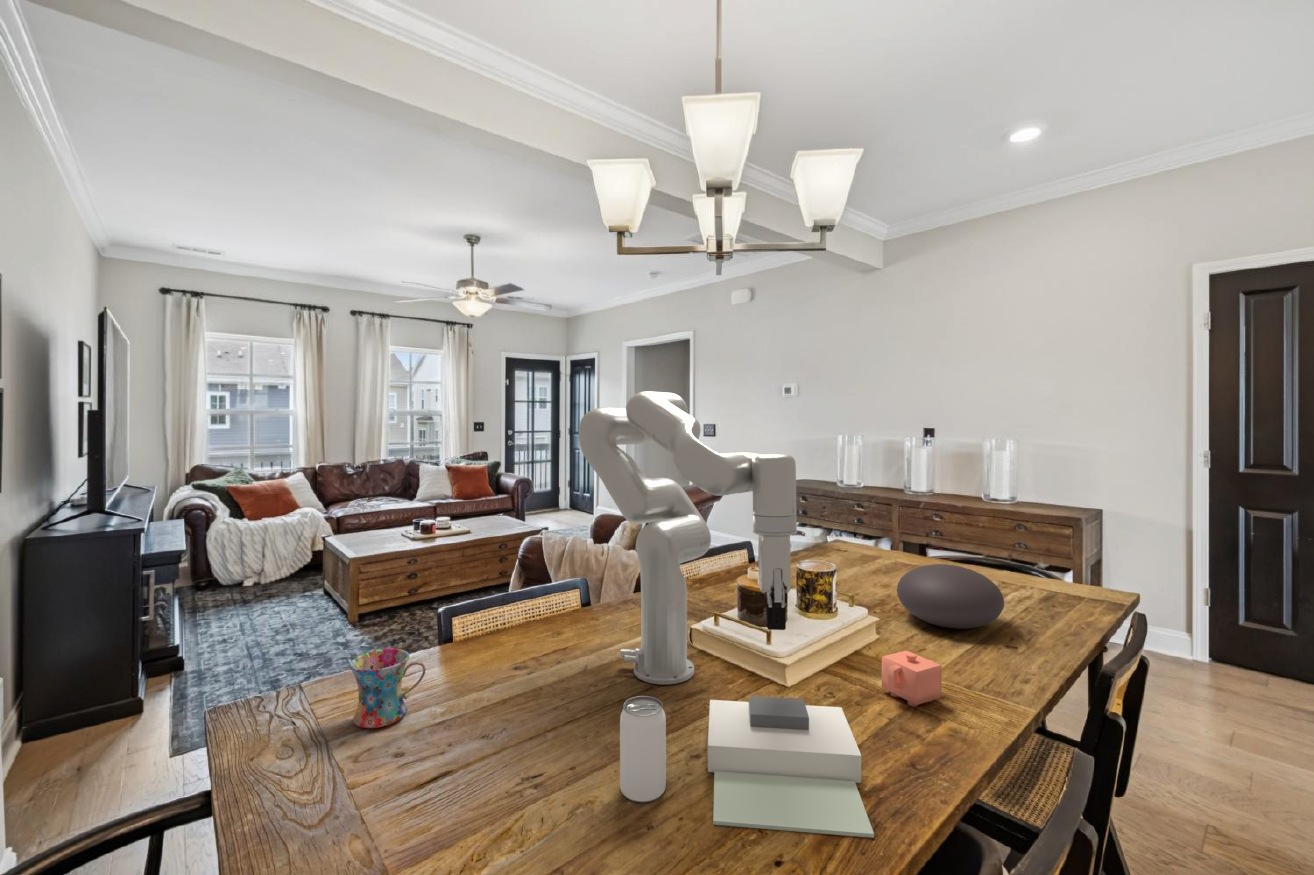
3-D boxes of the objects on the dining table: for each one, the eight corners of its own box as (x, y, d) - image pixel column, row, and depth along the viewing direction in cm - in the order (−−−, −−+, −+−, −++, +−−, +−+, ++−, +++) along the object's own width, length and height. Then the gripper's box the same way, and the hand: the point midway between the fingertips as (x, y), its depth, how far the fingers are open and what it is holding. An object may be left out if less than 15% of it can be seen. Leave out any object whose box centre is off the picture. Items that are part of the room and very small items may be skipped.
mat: (713, 824, 73) (713, 820, 73) (714, 774, 84) (714, 771, 84) (874, 837, 71) (874, 833, 71) (854, 784, 81) (854, 781, 81)
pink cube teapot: (952, 699, 107) (953, 655, 107) (908, 713, 101) (908, 667, 101) (917, 682, 114) (917, 641, 114) (873, 694, 108) (874, 652, 108)
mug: (345, 737, 93) (344, 673, 93) (356, 710, 102) (355, 652, 102) (424, 725, 97) (423, 664, 97) (427, 700, 106) (427, 643, 106)
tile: (750, 726, 89) (750, 714, 89) (748, 707, 95) (748, 695, 95) (808, 730, 88) (808, 717, 88) (803, 710, 94) (803, 699, 94)
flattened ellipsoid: (1004, 618, 151) (1005, 562, 150) (1002, 650, 130) (1003, 585, 129) (904, 602, 164) (905, 551, 164) (888, 629, 143) (888, 570, 142)
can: (619, 776, 83) (619, 695, 83) (663, 773, 84) (663, 693, 84) (620, 805, 77) (620, 718, 77) (668, 802, 77) (668, 716, 77)
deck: (707, 771, 84) (707, 745, 84) (710, 722, 98) (710, 699, 98) (861, 783, 82) (861, 755, 82) (841, 730, 96) (841, 707, 95)
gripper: (751, 517, 108) (752, 614, 108) (755, 531, 93) (757, 643, 93) (791, 517, 107) (792, 615, 107) (802, 531, 92) (803, 644, 92)
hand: (776, 627), depth 100 cm, fingers closed
